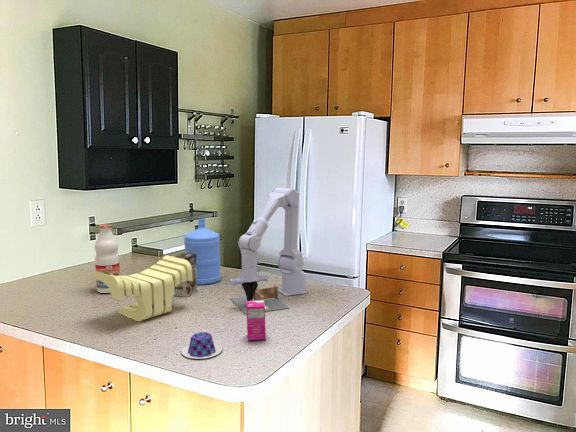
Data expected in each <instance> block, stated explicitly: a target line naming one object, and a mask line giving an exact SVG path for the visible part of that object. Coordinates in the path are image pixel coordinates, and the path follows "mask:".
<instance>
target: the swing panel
mask: <svg viewBox="0 0 576 432" xmlns="http://www.w3.org/2000/svg"><path fill="white" fill-rule="evenodd" d="M259 300H264V296H263V295H262V294H261V293H260V292H259V291H258V290H257V291H255V301H259Z"/></svg>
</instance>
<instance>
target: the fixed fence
mask: <svg viewBox="0 0 576 432" xmlns="http://www.w3.org/2000/svg"><path fill="white" fill-rule="evenodd" d="M257 290H258V291H259V292H260V293H261V294H262V295H263V296H264V299H267V298H277V299H278V300H279V296H278V294H279V293H278V292H279V291H278V290H279V287H278V286H277V285H274V286H271V287H263V288H257V289H256V291H257ZM254 301H255V293H254Z"/></svg>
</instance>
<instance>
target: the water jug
mask: <svg viewBox="0 0 576 432" xmlns="http://www.w3.org/2000/svg"><path fill="white" fill-rule="evenodd" d="M197 225H198V226H197V228H196V229H194V230H193V231H190V232H189V233H187V234H185V235H184V240H183V243H184V244H183V245H184V251H185V252H186V253H195V254H196V275H197V286H205V285H213V284H215V283H216V284H217V282H219V281H220V280H221V277H222V274H221V255H220V254H221V249H220V248H221V247H220V245H221V238H220V234H219V233H217V232H215V231H213V230H211V229H208V228H207V227H206V218H199V219H198V218H197Z"/></svg>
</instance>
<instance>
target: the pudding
mask: <svg viewBox="0 0 576 432" xmlns="http://www.w3.org/2000/svg"><path fill="white" fill-rule="evenodd" d="M222 351H223V347H222V345H220V343H217V342H214V340H213V337H212V333H208V332H206V331H205V332H204V331H203V332H201V331H199V332H197V333H193V335H192V336H191V338H190V341H189V344H186V345H185V346H184V347H183V348H182V349H181V351H180V352H181V355H183V356H184V357H186V358H187V359H197V360H199V359H208V358H212V357H214V356H217V355H219V354H220V353H222Z"/></svg>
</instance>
